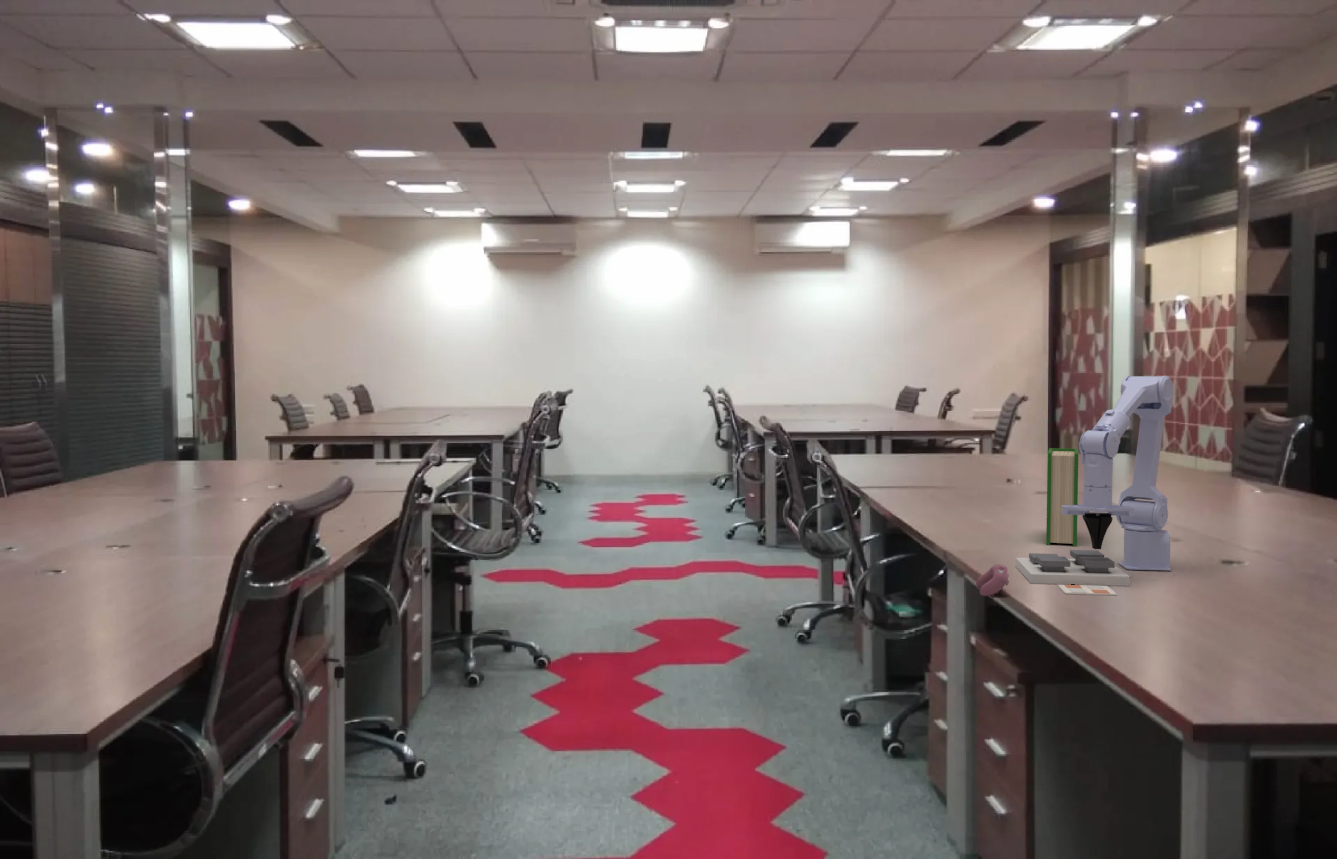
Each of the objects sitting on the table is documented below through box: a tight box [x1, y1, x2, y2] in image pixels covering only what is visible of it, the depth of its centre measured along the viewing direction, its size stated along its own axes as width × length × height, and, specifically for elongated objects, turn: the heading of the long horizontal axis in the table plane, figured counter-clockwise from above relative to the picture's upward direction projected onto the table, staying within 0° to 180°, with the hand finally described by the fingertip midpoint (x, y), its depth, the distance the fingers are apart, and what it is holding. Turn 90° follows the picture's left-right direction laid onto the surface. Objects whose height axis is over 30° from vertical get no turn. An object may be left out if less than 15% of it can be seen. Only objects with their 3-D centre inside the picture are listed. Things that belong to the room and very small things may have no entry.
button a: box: [1069, 549, 1105, 565], centre depth 238 cm, size 6×6×3 cm
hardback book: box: [1045, 447, 1079, 548], centre depth 281 cm, size 18×7×24 cm, turn 159°
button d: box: [1036, 555, 1071, 572], centre depth 231 cm, size 6×6×3 cm
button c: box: [1079, 556, 1116, 573], centre depth 229 cm, size 6×6×3 cm
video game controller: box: [975, 563, 1010, 597], centre depth 218 cm, size 10×5×7 cm, turn 169°
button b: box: [1028, 552, 1059, 564], centre depth 240 cm, size 6×6×3 cm
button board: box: [1015, 557, 1131, 587], centre depth 235 cm, size 20×20×2 cm
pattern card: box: [1056, 584, 1118, 596], centre depth 219 cm, size 10×8×1 cm
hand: (1096, 548), depth 229 cm, fingers closed
